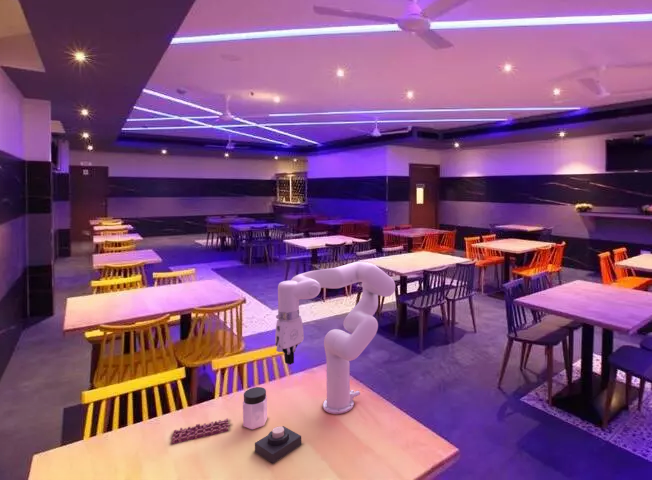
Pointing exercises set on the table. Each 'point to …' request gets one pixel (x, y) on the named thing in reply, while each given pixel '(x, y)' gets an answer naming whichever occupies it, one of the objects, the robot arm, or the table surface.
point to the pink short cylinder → (278, 432)
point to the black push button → (277, 445)
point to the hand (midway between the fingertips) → (289, 362)
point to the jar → (254, 408)
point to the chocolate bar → (200, 431)
